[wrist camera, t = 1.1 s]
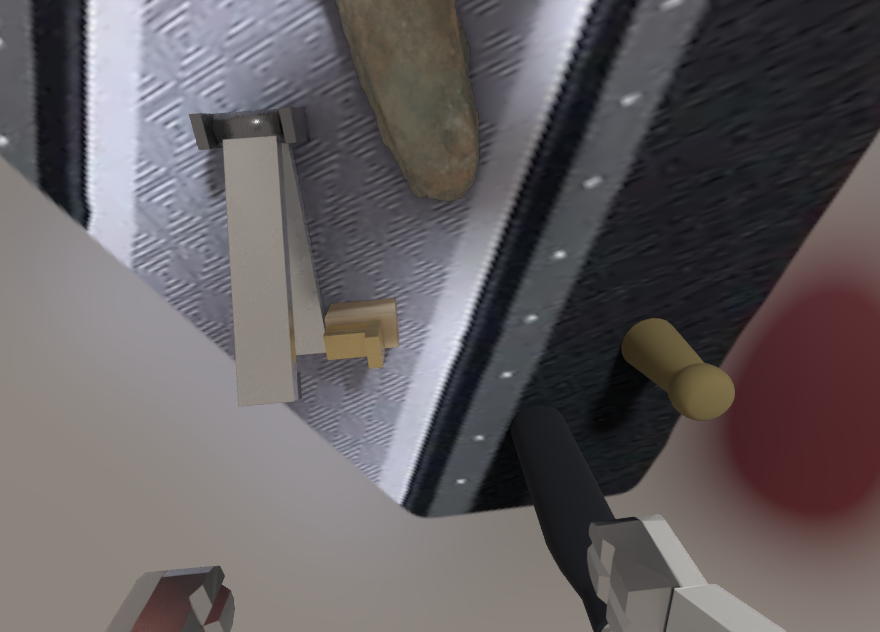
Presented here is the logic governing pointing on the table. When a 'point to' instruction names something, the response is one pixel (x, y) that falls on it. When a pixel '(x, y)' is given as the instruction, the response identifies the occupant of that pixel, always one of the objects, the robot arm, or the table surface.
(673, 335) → the cork
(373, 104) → the elongated rock
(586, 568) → the wine bottle
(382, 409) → the table surface
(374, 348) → the tan l-shaped block
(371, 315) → the tan wooden block
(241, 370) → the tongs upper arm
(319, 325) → the base
